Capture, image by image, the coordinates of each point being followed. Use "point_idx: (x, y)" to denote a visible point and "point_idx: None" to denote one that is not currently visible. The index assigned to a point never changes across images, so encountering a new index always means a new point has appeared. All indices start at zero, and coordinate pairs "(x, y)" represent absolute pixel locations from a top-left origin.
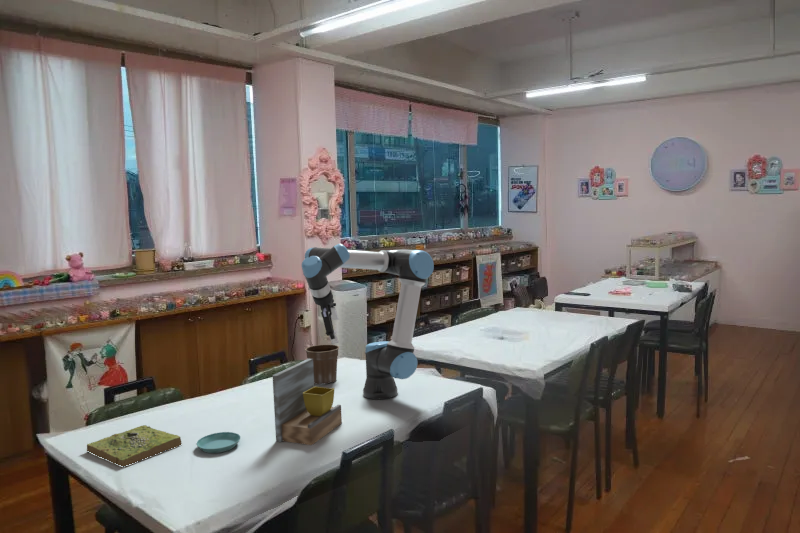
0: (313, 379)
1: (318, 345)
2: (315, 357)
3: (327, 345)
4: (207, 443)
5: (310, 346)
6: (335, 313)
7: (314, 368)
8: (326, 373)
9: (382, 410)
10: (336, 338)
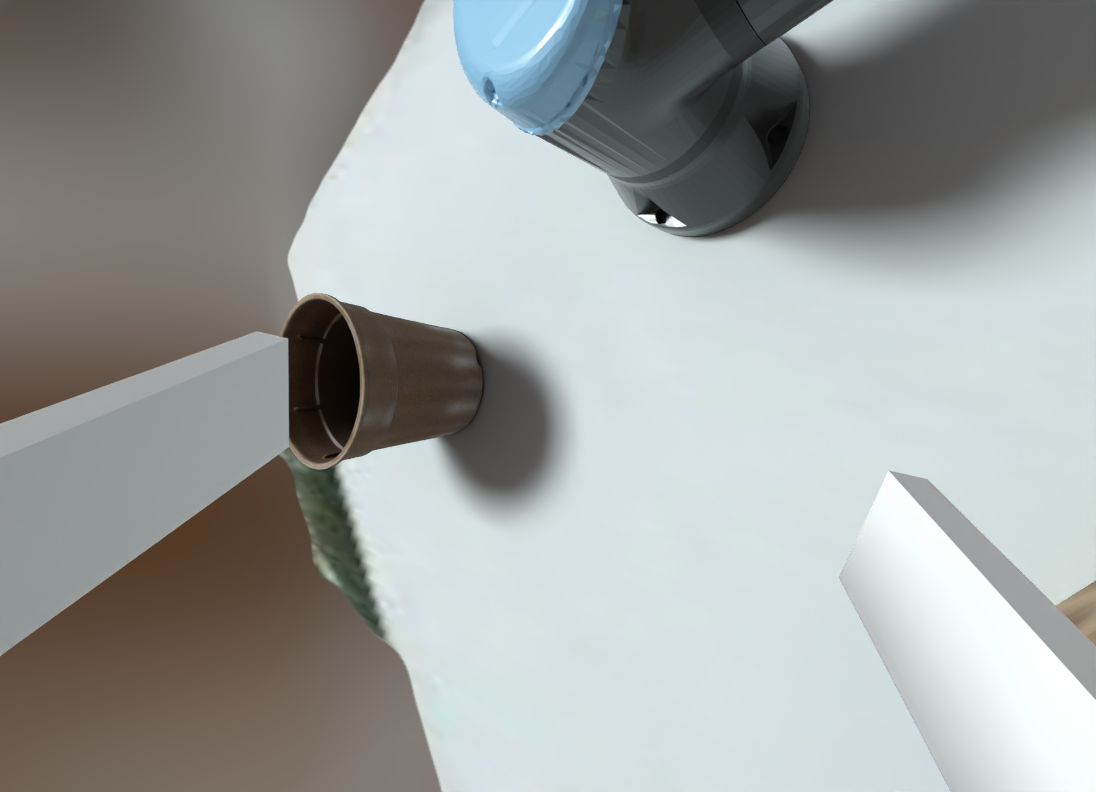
0: None
1: None
2: (377, 431)
3: None
4: None
5: None
6: (161, 418)
7: (417, 431)
8: (449, 379)
9: (1059, 132)
10: (998, 565)
